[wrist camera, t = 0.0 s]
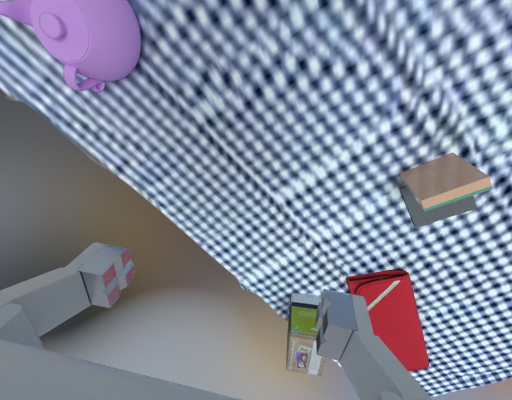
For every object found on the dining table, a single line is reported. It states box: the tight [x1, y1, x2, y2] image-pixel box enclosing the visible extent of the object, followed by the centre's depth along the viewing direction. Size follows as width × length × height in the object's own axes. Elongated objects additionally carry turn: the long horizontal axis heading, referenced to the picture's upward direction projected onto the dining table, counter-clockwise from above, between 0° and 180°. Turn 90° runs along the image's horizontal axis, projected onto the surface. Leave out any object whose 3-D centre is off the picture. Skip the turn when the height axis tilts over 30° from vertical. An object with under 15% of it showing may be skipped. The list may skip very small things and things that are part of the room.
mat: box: [400, 186, 476, 228], centre depth 56 cm, size 11×12×1 cm
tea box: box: [286, 293, 326, 376], centre depth 74 cm, size 15×10×15 cm, turn 179°
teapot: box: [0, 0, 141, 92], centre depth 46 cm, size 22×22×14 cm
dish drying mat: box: [347, 270, 429, 371], centre depth 76 cm, size 16×41×4 cm, turn 23°
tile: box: [400, 153, 492, 211], centre depth 49 cm, size 2×10×12 cm, turn 121°
